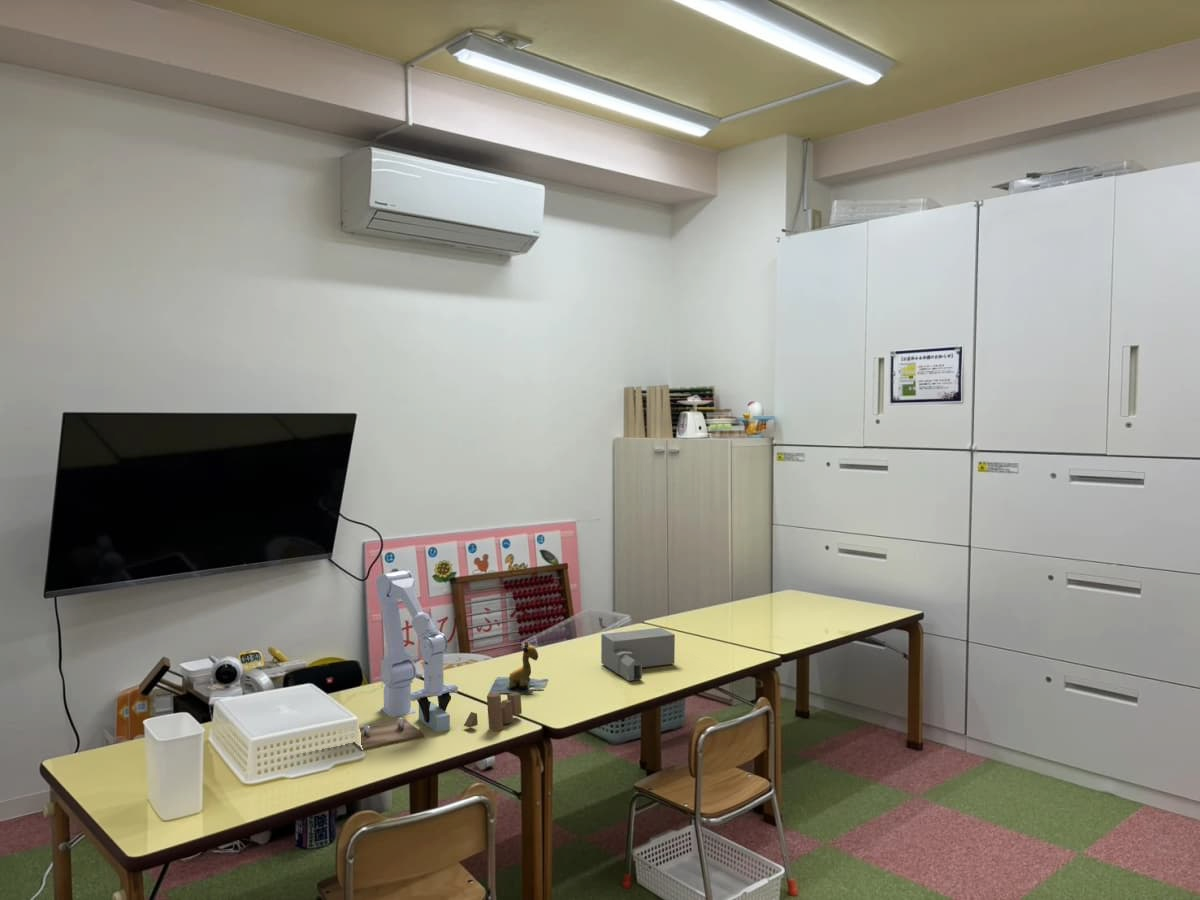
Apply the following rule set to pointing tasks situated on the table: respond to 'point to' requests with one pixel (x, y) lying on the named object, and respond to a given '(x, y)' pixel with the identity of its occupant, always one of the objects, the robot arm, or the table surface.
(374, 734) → the peg plate
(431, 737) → the table surface
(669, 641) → the gray box with nozzle
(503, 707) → the wooden block set
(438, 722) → the blue-grey rectangular block
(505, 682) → the stuffed giraffe
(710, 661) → the table surface
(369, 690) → the table surface
